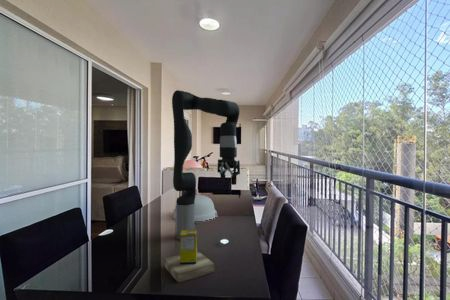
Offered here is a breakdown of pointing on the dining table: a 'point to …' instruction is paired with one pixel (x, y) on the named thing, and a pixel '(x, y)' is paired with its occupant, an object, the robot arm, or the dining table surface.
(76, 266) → the dining table surface
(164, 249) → the dining table surface
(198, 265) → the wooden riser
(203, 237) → the dining table surface
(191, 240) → the supplement box
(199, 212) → the dome cover
